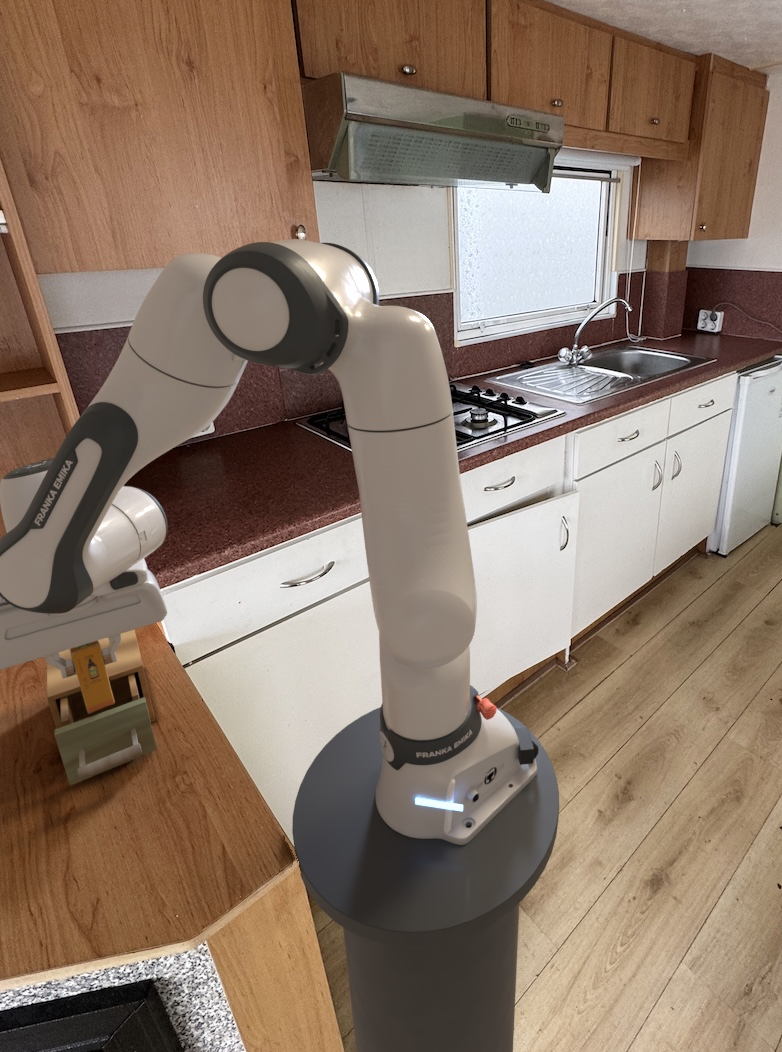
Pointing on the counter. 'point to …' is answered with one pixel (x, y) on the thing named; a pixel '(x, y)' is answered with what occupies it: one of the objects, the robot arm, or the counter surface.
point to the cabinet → (123, 666)
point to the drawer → (104, 731)
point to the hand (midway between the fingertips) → (90, 667)
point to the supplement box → (92, 676)
